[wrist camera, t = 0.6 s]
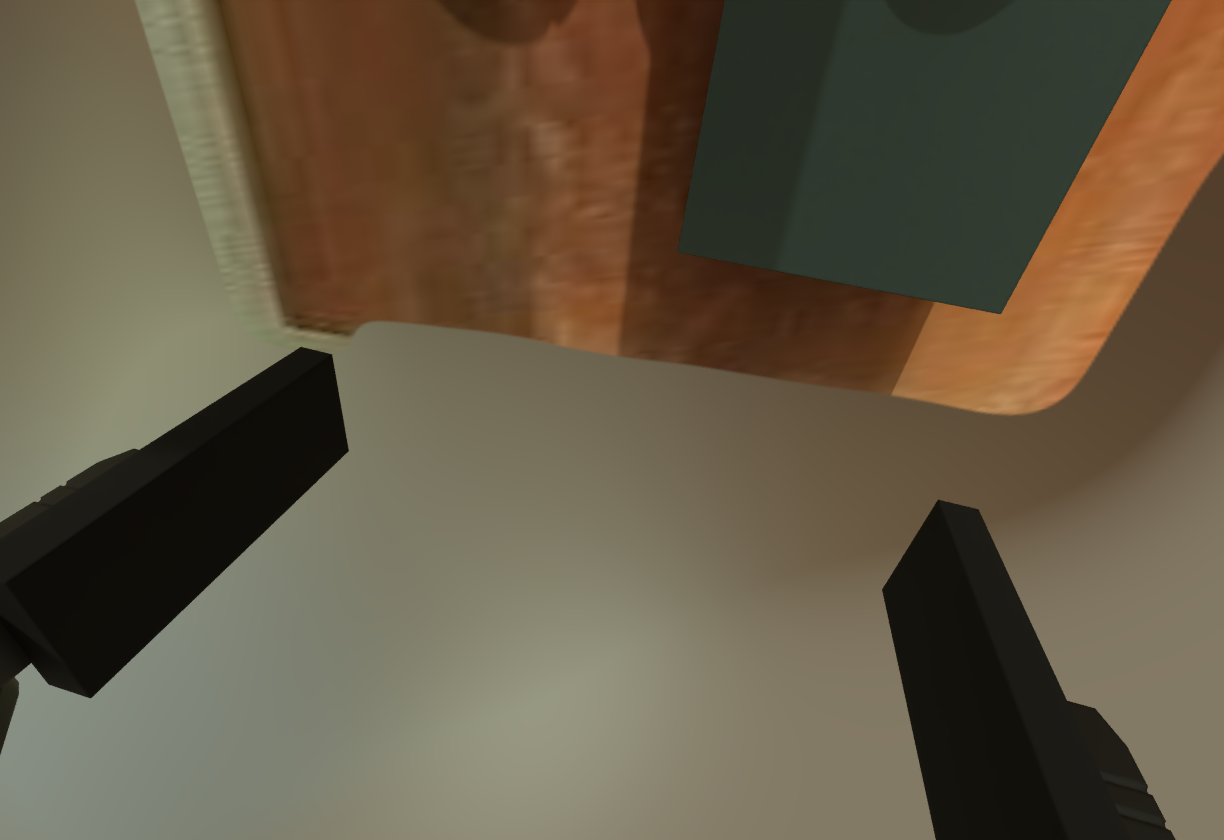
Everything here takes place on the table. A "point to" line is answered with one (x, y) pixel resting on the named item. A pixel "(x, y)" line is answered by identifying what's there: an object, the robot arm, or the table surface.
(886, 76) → the cabinet
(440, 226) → the table surface
